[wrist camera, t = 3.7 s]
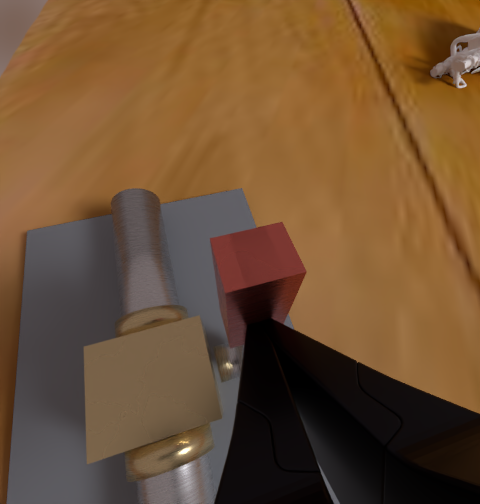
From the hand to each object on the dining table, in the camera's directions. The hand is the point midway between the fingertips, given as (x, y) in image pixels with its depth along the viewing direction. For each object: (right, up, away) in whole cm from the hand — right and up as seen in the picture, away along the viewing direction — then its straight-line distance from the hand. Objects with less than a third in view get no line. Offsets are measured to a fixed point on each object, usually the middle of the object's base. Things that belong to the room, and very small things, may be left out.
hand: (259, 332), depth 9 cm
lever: (-1, -4, +8) cm, 9 cm away
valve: (-5, -6, +9) cm, 12 cm away
